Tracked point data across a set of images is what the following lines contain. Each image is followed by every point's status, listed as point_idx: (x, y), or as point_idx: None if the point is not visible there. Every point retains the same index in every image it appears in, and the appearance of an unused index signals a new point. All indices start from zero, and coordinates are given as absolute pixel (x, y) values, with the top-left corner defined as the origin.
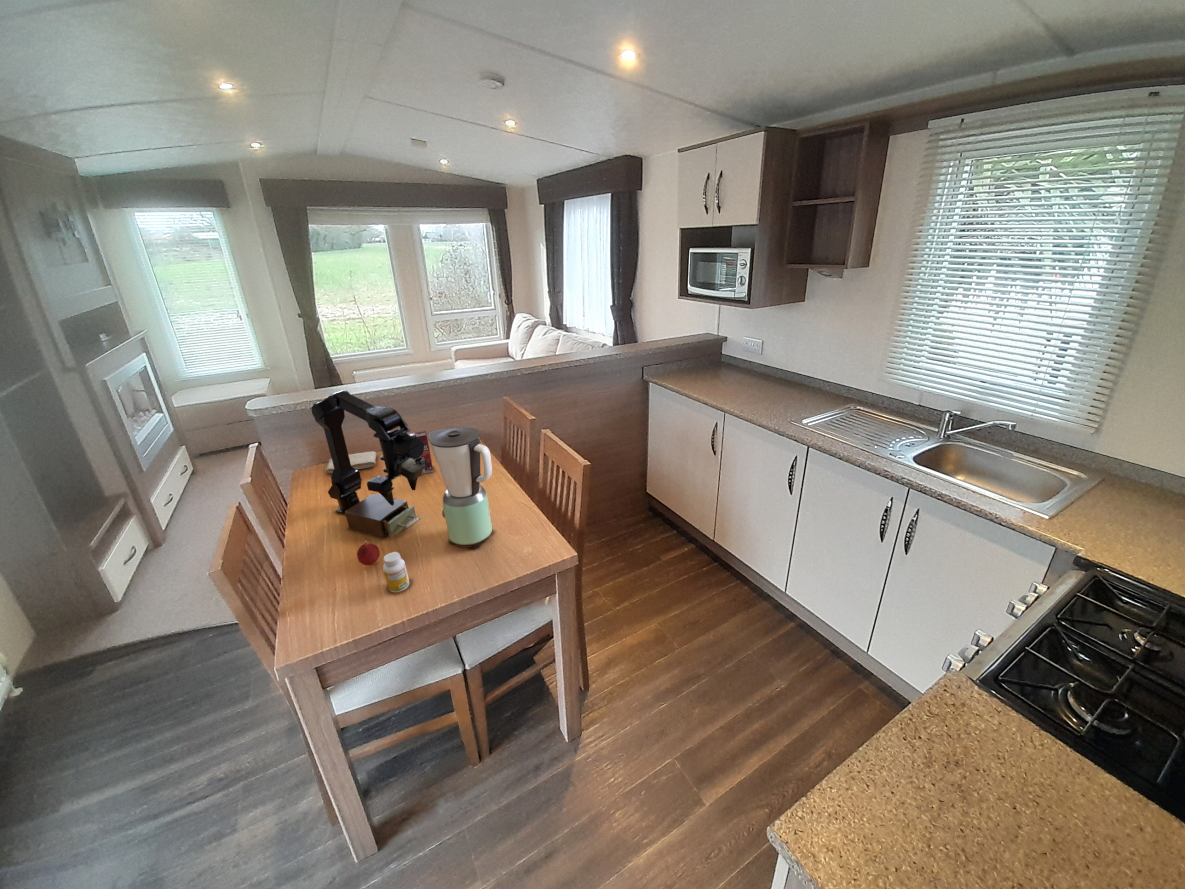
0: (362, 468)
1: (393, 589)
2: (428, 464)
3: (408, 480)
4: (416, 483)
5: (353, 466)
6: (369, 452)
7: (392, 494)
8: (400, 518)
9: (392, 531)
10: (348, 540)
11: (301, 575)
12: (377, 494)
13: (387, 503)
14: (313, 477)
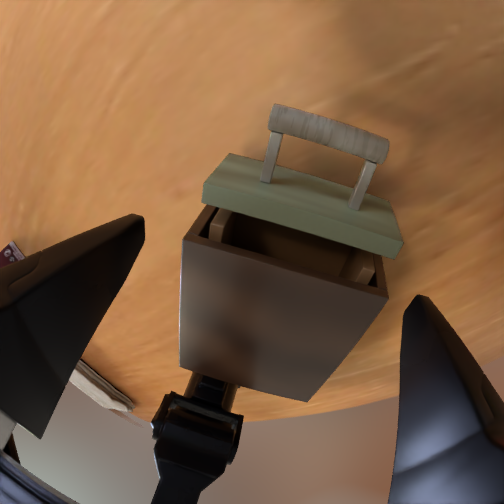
0: (92, 370)
1: None
2: (1, 262)
3: (92, 326)
4: (76, 235)
5: (99, 384)
6: None
7: (469, 394)
8: (324, 208)
9: (387, 211)
10: (377, 329)
11: (494, 350)
12: (180, 356)
13: (228, 315)
14: (153, 415)
